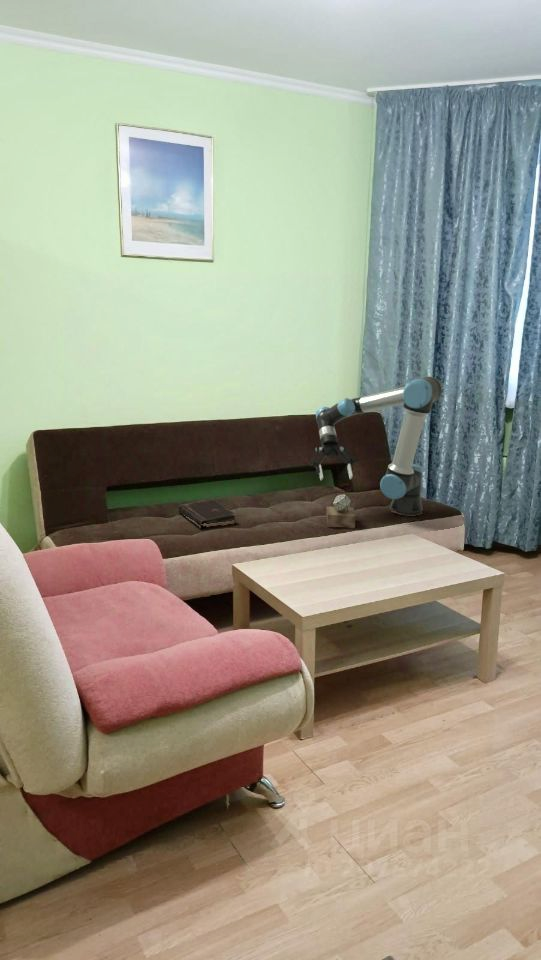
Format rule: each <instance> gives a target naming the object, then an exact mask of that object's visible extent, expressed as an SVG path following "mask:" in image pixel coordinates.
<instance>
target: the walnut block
mask: <svg viewBox="0 0 541 960" xmlns="http://www.w3.org/2000/svg"><path fill="white" fill-rule="evenodd" d="M325 509H326V510H325V519H326V518H327V523H326V525H327V524H333V525H339V526H343V527H348V528H347V529H356V512H355V509H354V507H351V506H349V508H348V510H349V512H348V511H347V510H345V511H339V513H338V510H337V509H336V507H335V506H326V507H325Z"/></svg>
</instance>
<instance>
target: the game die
mask: <svg viewBox="0 0 541 960" xmlns="http://www.w3.org/2000/svg"><path fill="white" fill-rule="evenodd" d="M353 502H354V500H351V499H350V498H349V496H347V492H344V493H343V494H337V493H335V498H334V500H333V502H332V503H330V505H333V507H336V509H337V510H338V513H339V511H345V510H347V511H348V512H349V510H348V508H349V507H351V503H353Z"/></svg>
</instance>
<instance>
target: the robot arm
mask: <svg viewBox="0 0 541 960" xmlns="http://www.w3.org/2000/svg"><path fill="white" fill-rule="evenodd" d="M442 394H443V387H442V384H441V382H440V381H439V380H438V379H437V378H436V377H433V376H426V377H422V378H415V379H413V380H411V381H409V382H408V383H407V384H406V385H405V386H403V387H398V388H394V389H389V390H386V391H385V390H384V391H381V392H375V393H373V394H368V395H364V396H360V397H355V398H348V397H346V398H343V399H341V400H339V401H338V402H337V403H335V404H334V405H333V406H331V407H328V406H323V407H319V408H318V409H317V410H316V412H315V419H316V423H317V424H316V425H317V427H318V435H319V440H320V444H321V446H319V445H317V446H315V453H314V456H313V459H312V462H311V464H310V465H311V467H314V468H315V470H316V474H318V475H319V479H320V481H323V479H324V475H323V474H324V472H323V468H322V465H321V463H322V462H323V461H324V459H325V458H326V457H328V458H329V457H330V458H331V457H336V458H338V459H340V460H341V461H343V463H344V464H345V465H347V466H346V469H347V473H348V477H349V480H352V478H353V477H354V476H353V472H354V466H355V464H356V459H355V458H354V457H353V455H352V454H351V453H350V452H349V450H348V449H347V447H346V445H343V446H339V442H338V437H337V432H336V428H335V425H336V424H338V423H339V422H340V421H342V420H344V419H346V418H349V417H353V416H356V415H361V414H364V413H369V412H373V411H378V410H379V411H380V410H383V409H388V408H393V407H397V406H402V407H403V410H404V411H405V412H404V416H403V419H402V420H403V421H402V424H401V429H400V432H399V436H398V439H397V443H396V448H395V452H394V454H393V459H392V462H391V463H390V464H388V466H387V468H386V472H385V475H383V477H382V478H381V480H380V482H379V486H380V488H379V489H380V491H381V492H382V494H383V495H384V496H385V498H388V499H391V500H392V501H391V503H390V506H389V510H390V509H391V510H393V511H396V512H398V513H401V514H405V515H417V514H420V513H421V512H422V511H423V512H424V508H423V504H422V499H421V492H422V491H421V490H422V481H423V480H422V478H423V467H422V465H420V464H416V463H414V459H415V457H416V452H417V448H418V444H419V442H420V439H421V433H422V430H423V427H424V423H425V418H426V416H428V415H429V414H430V413H431V410H432V407H433V404H434V403H435V402H437V401H438V400H439V399H440V398H441V396H442ZM320 452H323V454H322V455H321V457H320V458H319V459H318V460H317V458H318V456H319V453H320Z"/></svg>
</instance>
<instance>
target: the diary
mask: <svg viewBox="0 0 541 960" xmlns="http://www.w3.org/2000/svg"><path fill="white" fill-rule="evenodd" d="M178 512H179V514H180V515H181V514H182V515H181V516H183V515H185V516H187V517H189V518H190V519H192V520H194V521H195V522H196V523H197V524H198V525H200V526H202V525H201V524H204V523H206V524H210V523H218V522H226V521H232V520H235V521H236V516H237V517H238V514H237V513H235V512H233V511H232V510H230V509H229V508H227V507H226V506H225V505H223V504H222V503H221V502H219V501H218V500H216V498H215V499H214V498H212V499H204V500H197V501H193V502H188V503H184V504H179V506H178Z"/></svg>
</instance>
